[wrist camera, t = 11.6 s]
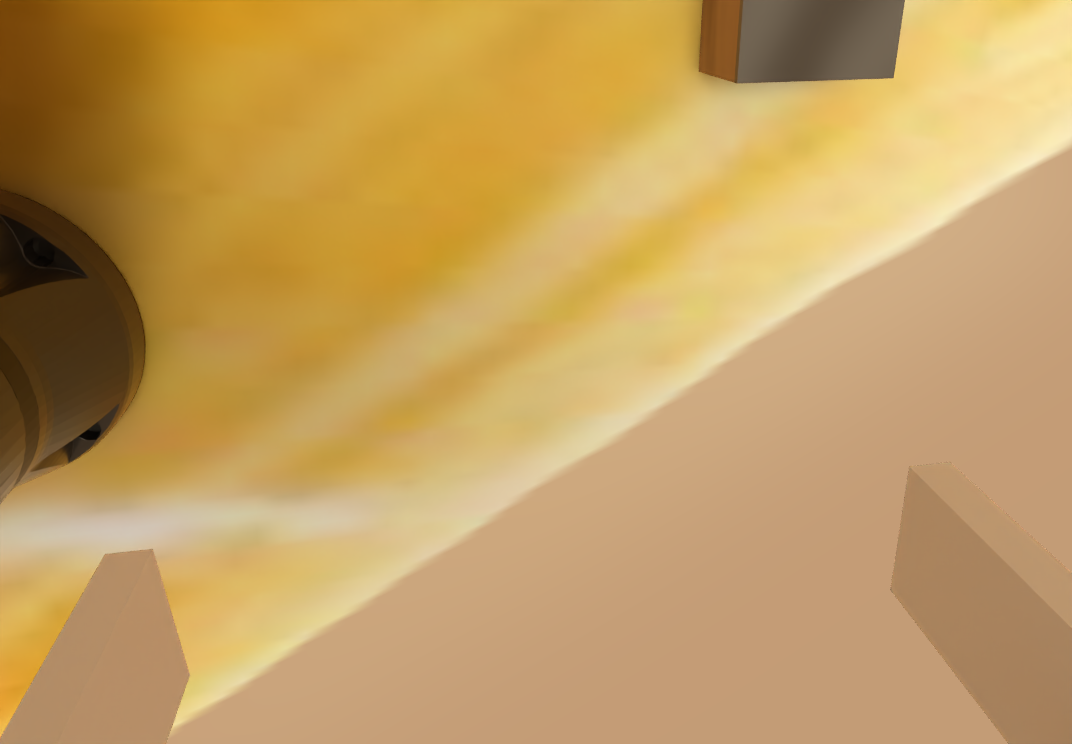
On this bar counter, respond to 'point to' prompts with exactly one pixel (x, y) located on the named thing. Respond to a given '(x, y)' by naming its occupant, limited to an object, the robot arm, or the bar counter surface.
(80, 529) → the bar counter surface
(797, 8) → the brown wooden block
